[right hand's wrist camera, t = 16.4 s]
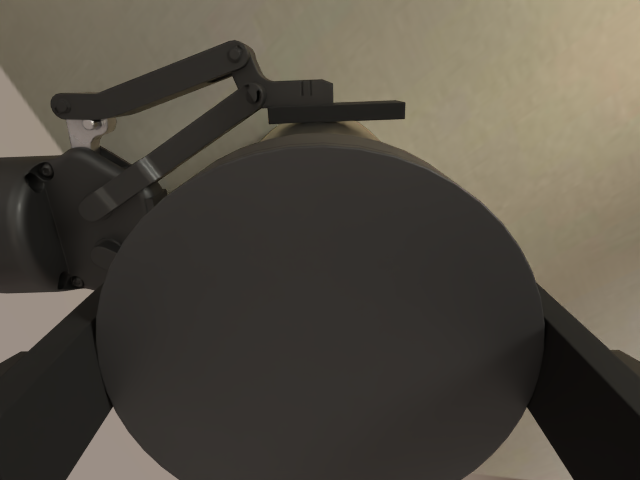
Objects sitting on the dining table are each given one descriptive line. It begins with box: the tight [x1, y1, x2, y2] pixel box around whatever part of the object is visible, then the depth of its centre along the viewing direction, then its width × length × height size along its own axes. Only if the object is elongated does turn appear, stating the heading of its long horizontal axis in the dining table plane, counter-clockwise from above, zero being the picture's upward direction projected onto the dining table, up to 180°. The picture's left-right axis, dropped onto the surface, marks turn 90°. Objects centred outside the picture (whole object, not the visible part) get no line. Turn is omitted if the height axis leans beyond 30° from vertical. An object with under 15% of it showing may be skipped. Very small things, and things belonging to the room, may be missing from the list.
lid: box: [96, 133, 545, 480], centre depth 11 cm, size 11×11×2 cm
